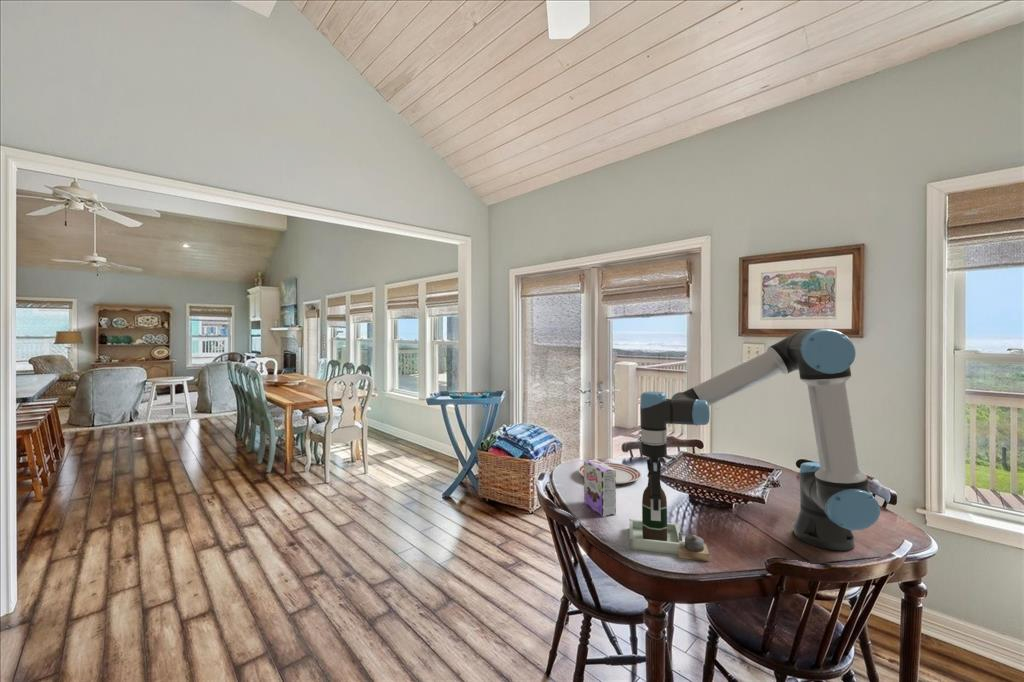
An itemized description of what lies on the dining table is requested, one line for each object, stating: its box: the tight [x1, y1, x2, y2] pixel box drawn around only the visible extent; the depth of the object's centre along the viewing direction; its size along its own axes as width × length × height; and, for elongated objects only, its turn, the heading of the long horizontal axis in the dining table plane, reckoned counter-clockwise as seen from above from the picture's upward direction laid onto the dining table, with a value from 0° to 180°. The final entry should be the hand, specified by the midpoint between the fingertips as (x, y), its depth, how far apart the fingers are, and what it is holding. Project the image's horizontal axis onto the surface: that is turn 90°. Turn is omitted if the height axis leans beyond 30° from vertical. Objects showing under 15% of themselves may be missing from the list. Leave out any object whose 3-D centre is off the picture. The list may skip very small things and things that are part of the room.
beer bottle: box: [641, 461, 668, 541], centre depth 132 cm, size 8×8×24 cm
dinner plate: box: [577, 461, 642, 486], centre depth 191 cm, size 28×27×3 cm
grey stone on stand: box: [677, 531, 710, 562], centre depth 124 cm, size 8×6×5 cm
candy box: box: [583, 458, 617, 518], centre depth 157 cm, size 14×6×16 cm, turn 18°
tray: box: [628, 518, 684, 555], centre depth 132 cm, size 15×14×3 cm
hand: (654, 511), depth 132 cm, fingers open, 13 cm apart
